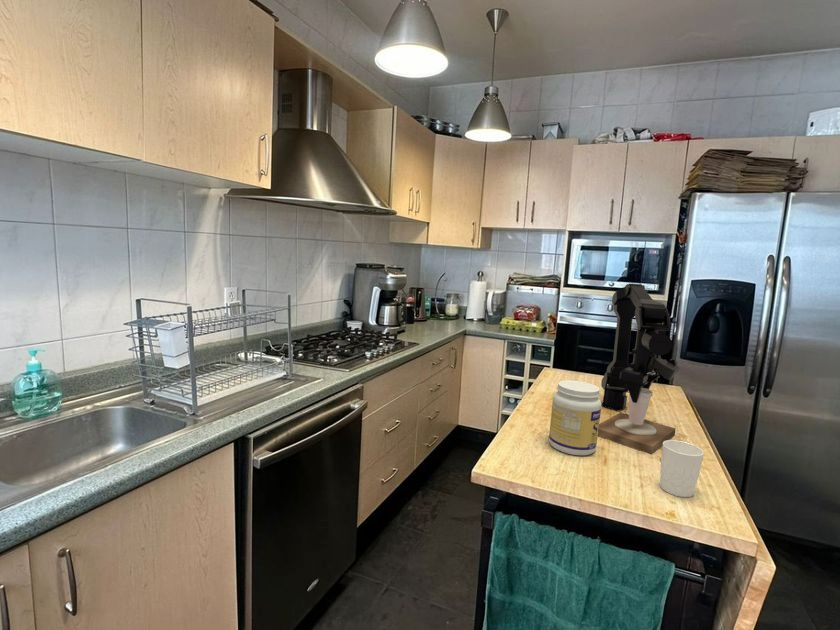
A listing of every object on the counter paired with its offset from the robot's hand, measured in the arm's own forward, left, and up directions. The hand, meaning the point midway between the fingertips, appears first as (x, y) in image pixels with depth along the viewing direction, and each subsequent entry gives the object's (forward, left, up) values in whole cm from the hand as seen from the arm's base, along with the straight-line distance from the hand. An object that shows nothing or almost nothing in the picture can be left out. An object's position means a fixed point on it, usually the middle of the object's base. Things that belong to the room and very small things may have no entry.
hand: (638, 400), depth 130 cm
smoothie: (0, 0, -7) cm, 7 cm away
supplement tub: (-8, -23, -11) cm, 27 cm away
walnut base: (0, 0, -11) cm, 11 cm away
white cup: (+18, -25, -11) cm, 33 cm away
